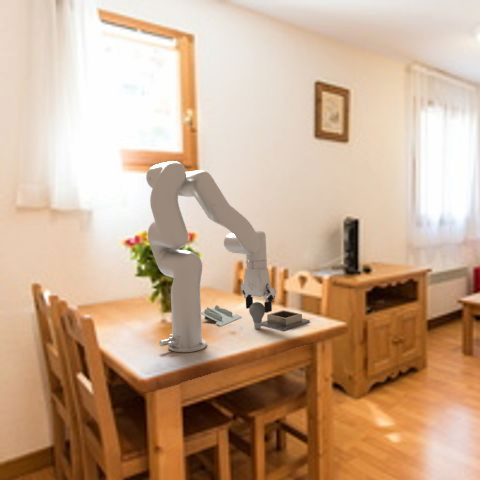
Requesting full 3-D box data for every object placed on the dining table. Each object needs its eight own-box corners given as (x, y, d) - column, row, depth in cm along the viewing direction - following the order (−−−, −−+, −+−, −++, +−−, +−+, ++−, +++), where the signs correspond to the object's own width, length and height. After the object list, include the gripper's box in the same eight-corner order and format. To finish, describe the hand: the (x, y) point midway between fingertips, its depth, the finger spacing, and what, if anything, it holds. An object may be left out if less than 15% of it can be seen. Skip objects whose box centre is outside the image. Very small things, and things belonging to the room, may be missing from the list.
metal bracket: (196, 309, 163) (217, 301, 176) (193, 322, 165) (215, 313, 177) (224, 323, 156) (245, 314, 169) (221, 337, 157) (242, 327, 170)
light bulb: (254, 325, 157) (253, 299, 156) (268, 327, 154) (267, 301, 153) (246, 329, 152) (246, 303, 151) (260, 331, 149) (260, 304, 148)
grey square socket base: (282, 331, 149) (282, 321, 149) (259, 324, 158) (259, 315, 158) (309, 322, 160) (309, 313, 160) (286, 316, 169) (286, 308, 169)
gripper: (233, 264, 155) (235, 308, 157) (267, 268, 143) (269, 316, 144) (247, 261, 160) (249, 304, 162) (281, 265, 148) (283, 311, 149)
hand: (258, 309), depth 153 cm, fingers open, 9 cm apart
